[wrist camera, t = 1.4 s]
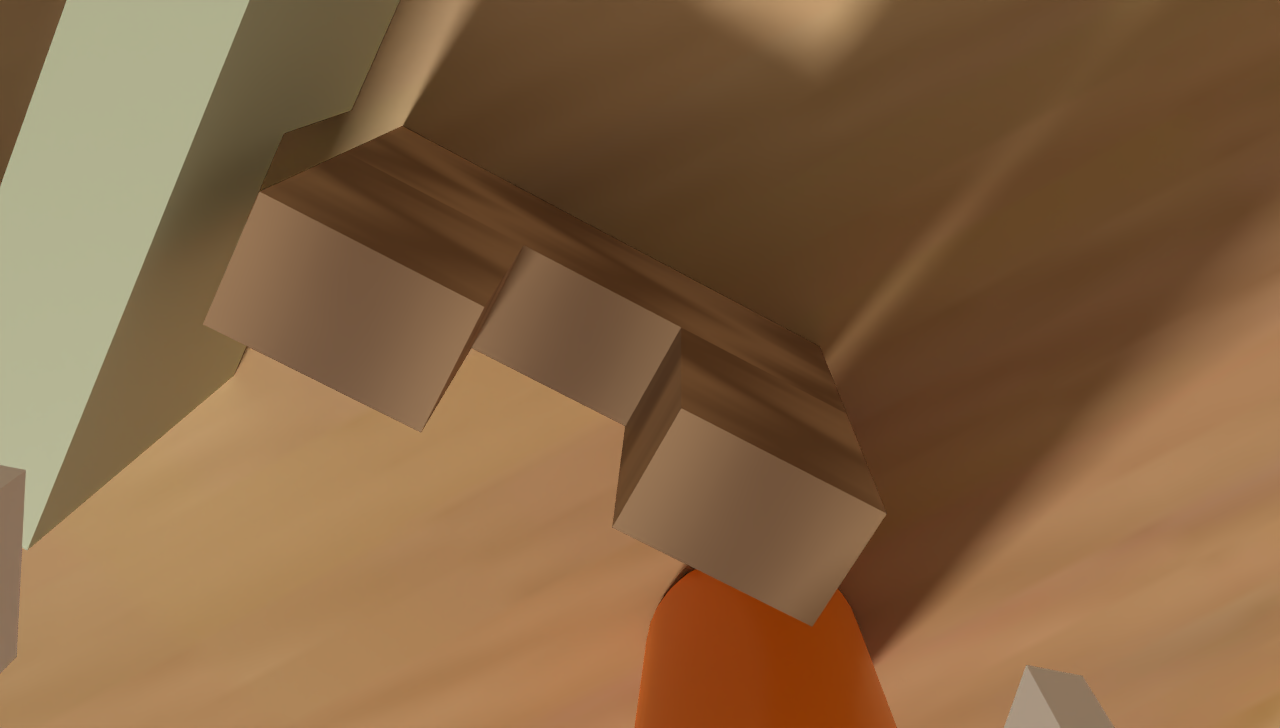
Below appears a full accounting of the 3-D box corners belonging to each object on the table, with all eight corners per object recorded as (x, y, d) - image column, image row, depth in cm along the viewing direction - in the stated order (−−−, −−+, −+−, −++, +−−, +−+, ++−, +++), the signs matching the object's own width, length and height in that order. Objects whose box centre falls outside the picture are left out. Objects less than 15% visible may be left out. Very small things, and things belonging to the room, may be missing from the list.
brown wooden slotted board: (360, 216, 35) (203, 324, 23) (402, 125, 34) (259, 191, 22) (770, 427, 36) (812, 626, 25) (819, 346, 35) (886, 513, 24)
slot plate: (233, 375, 36) (27, 550, 25) (143, 331, 36) (-107, 488, 24) (420, -45, 32) (277, -69, 21) (321, -100, 32) (121, -153, 20)
